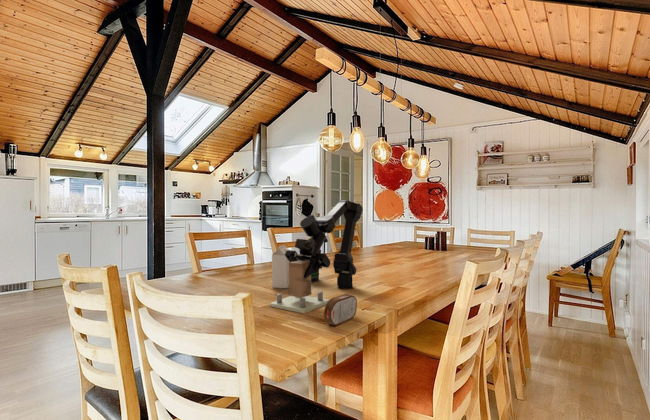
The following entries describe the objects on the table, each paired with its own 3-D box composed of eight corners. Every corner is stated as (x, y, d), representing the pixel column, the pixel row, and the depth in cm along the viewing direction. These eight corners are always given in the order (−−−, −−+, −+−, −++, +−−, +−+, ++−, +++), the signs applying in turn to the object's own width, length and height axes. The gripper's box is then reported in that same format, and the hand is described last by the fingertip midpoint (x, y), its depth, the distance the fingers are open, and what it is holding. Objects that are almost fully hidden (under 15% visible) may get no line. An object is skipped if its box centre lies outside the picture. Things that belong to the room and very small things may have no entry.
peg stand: (296, 296, 147) (296, 286, 147) (329, 302, 138) (329, 291, 138) (269, 306, 134) (269, 295, 134) (304, 313, 125) (304, 301, 125)
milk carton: (272, 287, 163) (271, 246, 163) (278, 284, 170) (278, 244, 170) (286, 288, 161) (286, 246, 161) (292, 285, 168) (292, 244, 168)
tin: (351, 315, 123) (351, 290, 123) (358, 317, 121) (358, 292, 121) (323, 327, 111) (322, 300, 111) (331, 329, 109) (330, 301, 109)
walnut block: (298, 292, 140) (298, 260, 140) (311, 294, 137) (311, 261, 136) (288, 295, 135) (288, 262, 135) (301, 297, 132) (301, 263, 131)
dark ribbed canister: (316, 282, 173) (316, 251, 173) (297, 282, 175) (296, 251, 175) (321, 278, 183) (321, 249, 182) (302, 278, 185) (302, 248, 184)
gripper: (287, 230, 144) (268, 261, 135) (326, 231, 133) (308, 266, 124) (299, 247, 151) (282, 278, 142) (337, 250, 140) (321, 284, 131)
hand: (297, 276), depth 135 cm, fingers closed on walnut block, 6 cm apart
